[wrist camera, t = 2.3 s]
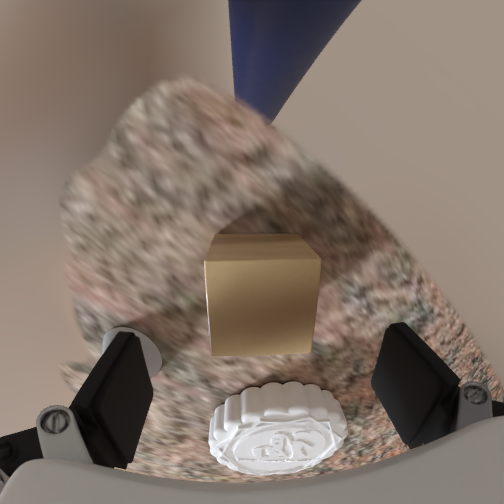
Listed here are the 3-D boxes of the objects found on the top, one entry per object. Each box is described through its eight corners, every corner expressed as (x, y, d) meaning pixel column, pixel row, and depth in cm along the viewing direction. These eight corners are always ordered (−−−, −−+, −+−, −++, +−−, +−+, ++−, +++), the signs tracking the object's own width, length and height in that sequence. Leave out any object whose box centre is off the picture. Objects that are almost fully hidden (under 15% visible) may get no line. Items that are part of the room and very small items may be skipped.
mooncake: (359, 379, 20) (374, 408, 17) (315, 452, 23) (321, 476, 20) (217, 371, 19) (214, 406, 16) (206, 448, 22) (204, 475, 19)
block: (214, 233, 16) (203, 260, 11) (298, 233, 16) (322, 259, 11) (217, 309, 17) (211, 356, 13) (294, 307, 18) (311, 353, 13)
